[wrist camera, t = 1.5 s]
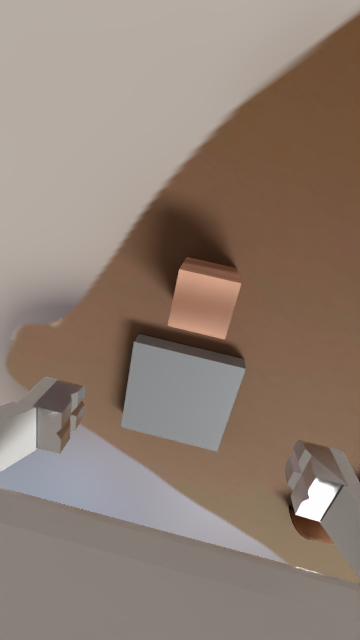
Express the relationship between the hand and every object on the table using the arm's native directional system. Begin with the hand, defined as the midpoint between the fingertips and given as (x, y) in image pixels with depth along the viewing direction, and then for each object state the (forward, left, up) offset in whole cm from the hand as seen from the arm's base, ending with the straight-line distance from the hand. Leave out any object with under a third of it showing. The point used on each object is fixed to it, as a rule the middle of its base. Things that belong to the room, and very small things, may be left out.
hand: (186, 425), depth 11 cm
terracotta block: (0, 0, -19) cm, 19 cm away
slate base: (+13, 0, -19) cm, 23 cm away
